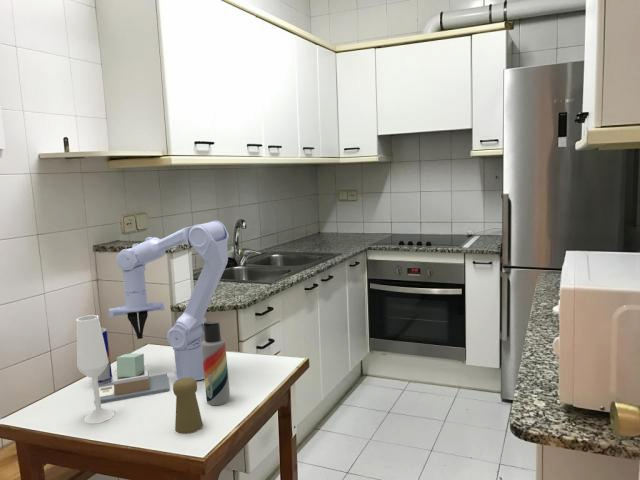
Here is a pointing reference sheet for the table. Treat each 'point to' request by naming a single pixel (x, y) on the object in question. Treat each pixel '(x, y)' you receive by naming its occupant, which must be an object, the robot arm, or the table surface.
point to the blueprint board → (154, 388)
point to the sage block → (130, 365)
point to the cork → (186, 406)
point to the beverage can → (107, 373)
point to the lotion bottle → (215, 365)
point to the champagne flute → (92, 360)
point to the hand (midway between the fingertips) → (140, 337)
